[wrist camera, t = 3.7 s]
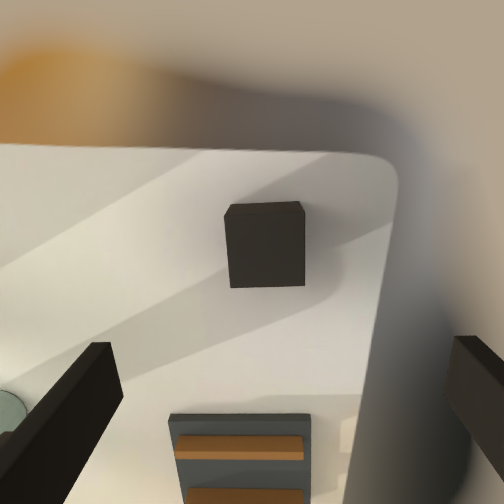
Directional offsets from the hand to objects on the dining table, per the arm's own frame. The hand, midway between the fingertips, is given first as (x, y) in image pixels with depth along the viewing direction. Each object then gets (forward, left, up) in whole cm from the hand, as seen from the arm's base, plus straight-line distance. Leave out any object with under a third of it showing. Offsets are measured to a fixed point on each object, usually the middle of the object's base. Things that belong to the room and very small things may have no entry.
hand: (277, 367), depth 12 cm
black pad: (+1, 0, -17) cm, 17 cm away
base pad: (+5, +28, -17) cm, 33 cm away
